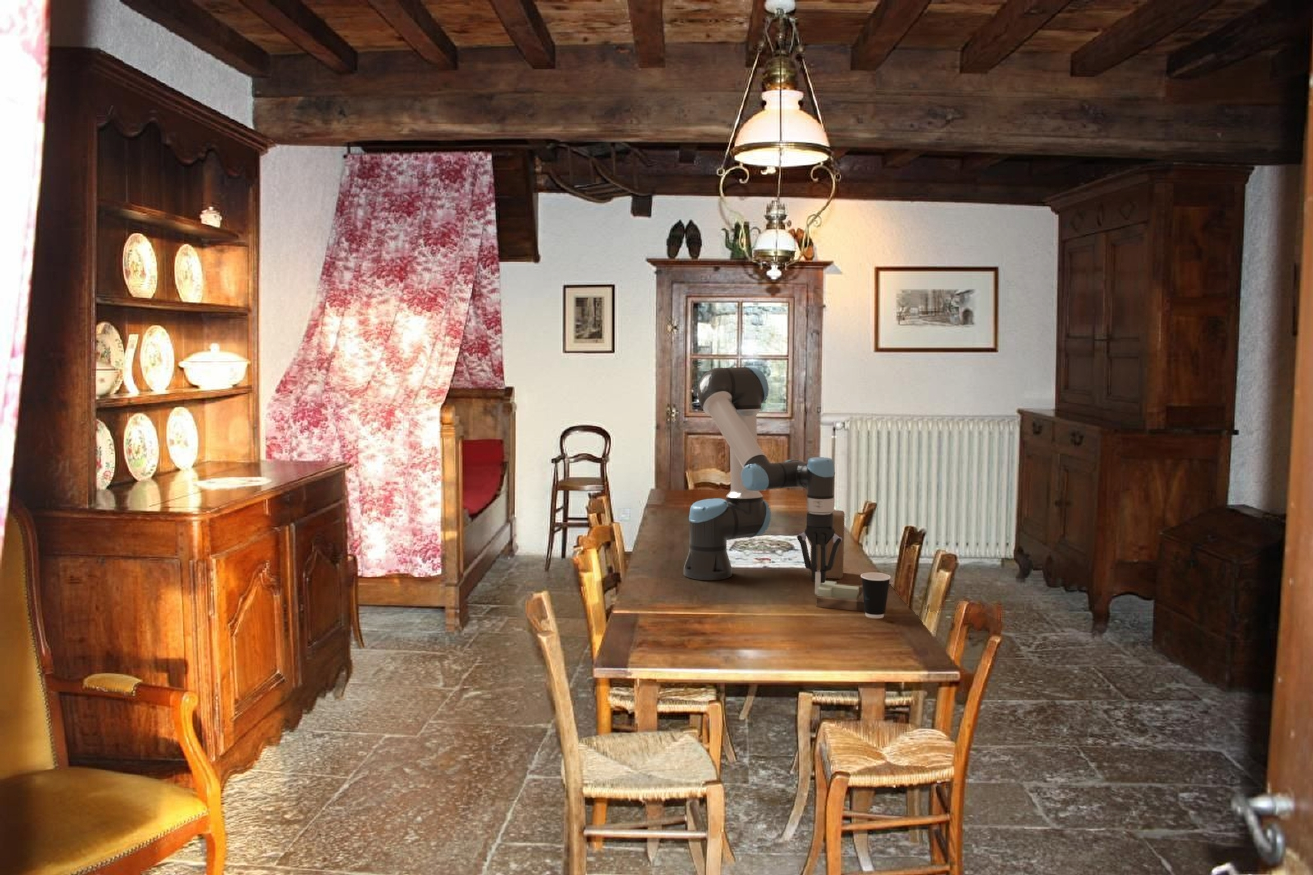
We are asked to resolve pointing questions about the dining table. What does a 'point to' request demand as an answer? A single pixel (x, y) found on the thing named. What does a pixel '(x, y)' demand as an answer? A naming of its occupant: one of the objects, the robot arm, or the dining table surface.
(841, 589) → the t block
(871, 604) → the dixie cup
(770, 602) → the dining table surface
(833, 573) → the wooden block
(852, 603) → the brown stepped flat base
